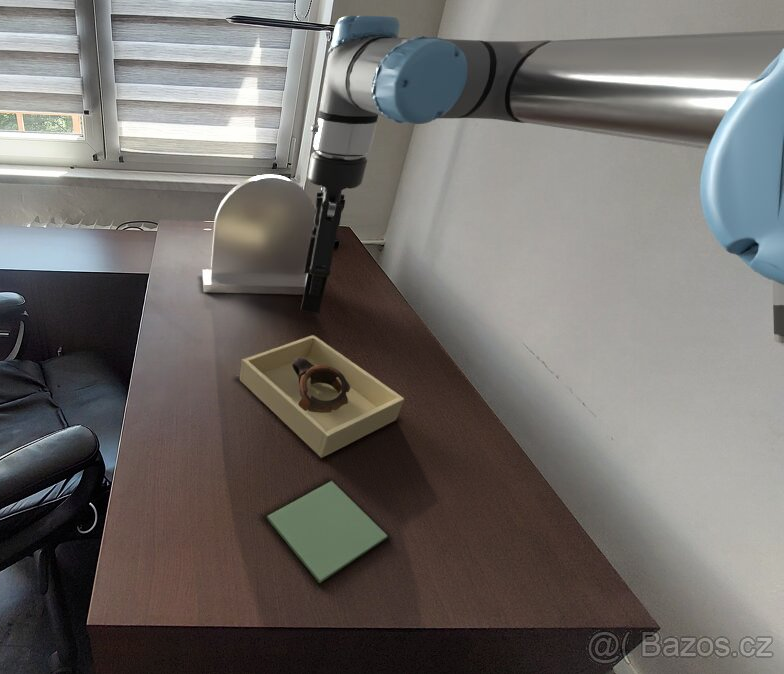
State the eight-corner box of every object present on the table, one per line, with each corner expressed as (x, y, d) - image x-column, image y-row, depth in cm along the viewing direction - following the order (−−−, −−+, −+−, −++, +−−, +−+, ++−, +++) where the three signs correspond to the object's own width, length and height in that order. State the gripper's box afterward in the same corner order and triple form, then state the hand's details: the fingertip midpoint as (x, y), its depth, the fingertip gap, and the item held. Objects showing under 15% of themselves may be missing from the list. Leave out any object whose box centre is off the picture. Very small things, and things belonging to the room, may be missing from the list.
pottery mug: (356, 400, 82) (365, 383, 75) (320, 435, 81) (325, 421, 73) (306, 356, 88) (309, 337, 80) (271, 388, 86) (271, 372, 79)
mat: (386, 538, 60) (387, 535, 59) (319, 583, 55) (320, 580, 54) (330, 483, 67) (331, 480, 67) (266, 518, 62) (267, 515, 61)
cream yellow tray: (396, 419, 78) (404, 398, 76) (321, 458, 71) (327, 436, 68) (308, 354, 94) (313, 334, 91) (239, 379, 86) (242, 359, 83)
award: (306, 278, 122) (327, 172, 107) (314, 294, 115) (338, 183, 100) (202, 276, 122) (208, 169, 106) (203, 292, 114) (210, 179, 99)
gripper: (313, 135, 73) (292, 257, 85) (309, 173, 53) (281, 326, 65) (362, 138, 72) (333, 262, 84) (376, 179, 52) (336, 334, 64)
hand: (310, 290), depth 74 cm, fingers open, 13 cm apart
